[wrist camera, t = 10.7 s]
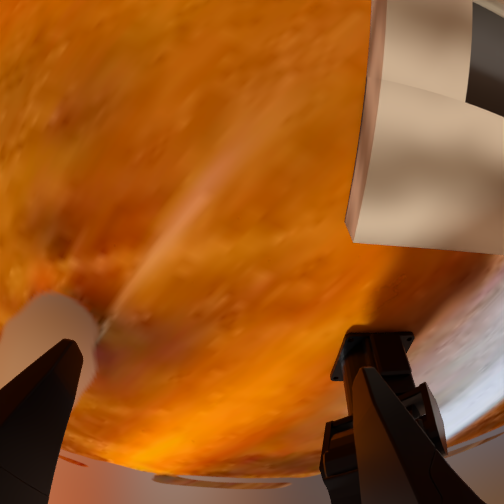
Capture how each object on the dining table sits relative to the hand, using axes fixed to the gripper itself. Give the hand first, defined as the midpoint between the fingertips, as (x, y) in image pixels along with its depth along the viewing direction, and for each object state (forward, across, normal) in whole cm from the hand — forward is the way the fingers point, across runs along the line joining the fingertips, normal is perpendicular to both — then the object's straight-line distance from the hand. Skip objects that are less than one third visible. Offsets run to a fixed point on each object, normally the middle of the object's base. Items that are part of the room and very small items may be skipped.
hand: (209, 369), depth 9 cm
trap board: (+12, -20, -8) cm, 24 cm away
